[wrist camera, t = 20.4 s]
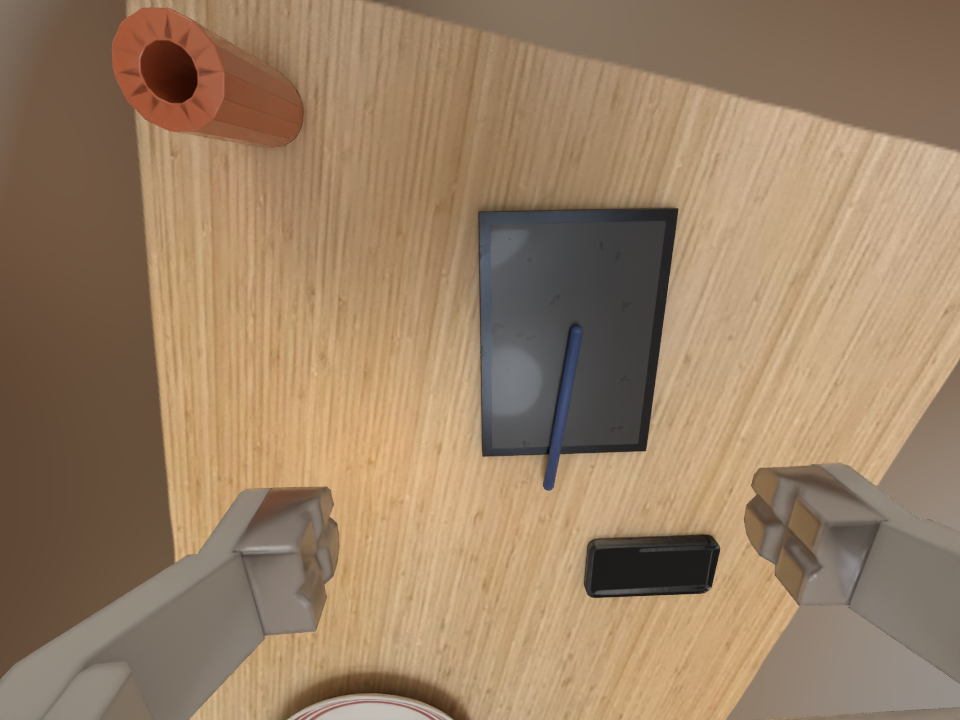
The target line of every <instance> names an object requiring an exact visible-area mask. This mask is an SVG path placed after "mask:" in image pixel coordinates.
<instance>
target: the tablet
mask: <svg viewBox="0 0 960 720" xmlns="http://www.w3.org/2000/svg"><path fill="white" fill-rule="evenodd" d="M677 215H678V208H637V209H582V210H528V211H479V212H478V218H479V280H480V343H481V405H482V455H483V457H484V456H514V455H544V454H549V449H550V444H551V438H552V433H553V427H554V422H555V416H556V411H557V405H558V399H559V394H560V388H561V383H562V377H563V372H564V366H565V360H566V355H567V349H568V344H569V338H570V333H571V329H572V327H573V326H576V325H578V326H581V327H582V329H583V335H582V340H581V346H580V351H579V356H578V361H577V367H576V372H575V377H574V382H573V388H572V393H571V398H570V403H569V409H568V414H567V419H566V425H565V430H564V435H563V440H562V446H561V451H560V454H574V453H604V452H634V451H646V447H647V439H648V432H649V424H650V417H651V410H652V402H653V395H654V387H655V380H656V372H657V365H658V357H659V350H660V342H661V335H662V327H663V320H664V312H665V305H666V298H667V290H668V283H669V275H670V268H671V260H672V253H673V245H674V238H675V230H676V223H677Z"/></svg>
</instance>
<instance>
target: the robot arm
mask: <svg viewBox="0 0 960 720" xmlns="http://www.w3.org/2000/svg"><path fill="white" fill-rule="evenodd" d="M751 486H752V488H753V490H754V491H755V493H756V496H755V497H754V498H753V499H752V500H751V501H750V502H749V503H748V504H747V505H746V510H745V515H744V523H745V529H746V534H747V536H748V538H749V540H750V543H751V545H752V546H753V547H754V549H755V550H756V551H757V553H758V554H759V555H760V556H762V557H763V558H765V559H767V560H768V561H770V562H772V563H773V564H775V576H776V577H777V578H778V580H779V581H780V582H781V584H782V585H783V586H784V587H785V589H786V590H787V591H788V592H789V594H790V595H791V596H792V597H793V599H794V600H795V601H796V603H797V604H798V605H799V606H828V605H829V606H830V605H849V608H850V609H851V610H853V611H854V612H856V613H858V614H859V615H860V616H861V617H863V618H864V619H866V620H867V621H869V622H870V623H872V624H873V625H875V626H876V627H877V628H879V629H881V630H882V631H883V632H885V633H886V634H888V635H889V636H891V637H892V638H894V639H895V640H897V641H898V642H899V643H901V644H902V645H904V646H905V647H907V648H908V649H910V650H911V651H913V652H914V653H915V654H917V655H918V656H920V657H921V658H923V659H924V660H926V661H927V662H929V663H930V664H932V665H933V666H934V667H936V668H937V669H939V670H940V671H942V672H943V673H945V674H946V675H948V676H949V677H950V678H952V679H953V680H955V681H956V682H958V683H959V684H960V531H957V530H955V529H952V528H950V527H947V526H945V525H942V524H940V523H937V522H934V521H932V520H920V519H919V518H918V517H916V516H915V515H913V514H912V513H911V512H910V511H908V510H907V509H906V508H904V507H903V506H902V505H900V504H899V503H898V502H896V501H895V500H894V499H892V498H891V497H889V496H888V495H887V494H886V493H884V492H883V491H882V490H880V489H879V488H877V487H876V486H875V485H874V484H872V483H871V482H870V481H868V480H867V479H866V478H864V477H863V476H862V475H860V474H859V473H858V472H856V471H855V470H854V469H852V468H851V467H850V466H847V465H844V464H841V463H826V464H812V465H811V466H790V467H770V468H759V469H758V470H757V472H756V473H755V474H754V477H753V481H752V484H751ZM333 506H334V503H333V499H332V494H331V490H330V489H329V488H328V487H286V488H257V489H246V490H244V491H242V492H241V493H240V494H239V495H238V497H237V498H236V499H235V501H234V502H233V504H232V505H231V507H230V508H229V509H228V511H227V512H226V514H225V515H224V517H223V518H222V520H221V521H220V522H219V524H218V525H217V527H216V528H215V530H214V531H213V532H212V534H211V535H210V537H209V538H208V540H207V541H206V543H205V544H204V545H203V547H202V548H201V550H200V551H199V553H198V554H192V555H187V556H185V557H184V558H182V559H181V560H179V561H178V562H176V563H174V564H173V565H171V566H170V567H168V568H167V569H165V570H163V571H162V572H160V573H158V574H157V575H155V576H154V577H152V578H151V579H149V580H147V581H146V582H144V583H143V584H141V585H140V586H138V587H136V588H135V589H133V590H132V591H130V592H128V593H127V594H125V595H124V596H122V597H120V598H119V599H117V600H116V601H114V602H113V603H111V604H109V605H108V606H106V607H105V608H103V609H101V610H100V611H98V612H97V613H95V614H93V615H92V616H90V617H89V618H87V619H85V620H84V621H82V622H81V623H79V624H78V625H76V626H75V627H73V628H71V629H70V630H68V631H67V632H65V633H63V634H62V635H60V636H59V637H57V638H56V639H54V640H52V641H51V642H49V643H47V644H46V645H44V646H43V647H41V648H39V649H38V650H36V651H35V652H33V653H32V654H30V655H28V656H27V657H25V658H24V659H22V660H21V661H19V662H17V663H16V664H14V665H13V666H12V668H11V669H10V670H9V671H8V672H7V673H6V674H5V675H4V676H3V677H2V678H1V679H0V720H189V719H190V718H191V717H192V716H193V714H194V713H195V712H196V711H197V710H198V709H199V708H200V707H201V706H202V705H203V704H204V703H205V702H206V701H207V700H208V698H209V697H210V696H211V695H212V694H213V693H214V692H215V691H216V690H217V689H218V688H219V687H220V686H221V685H222V684H223V683H224V681H225V680H226V679H227V678H228V677H229V676H230V675H231V674H232V673H233V672H234V671H235V670H236V669H237V668H238V667H239V666H240V664H241V663H242V662H243V661H244V660H245V659H246V658H247V657H248V656H249V655H250V654H251V653H252V652H253V651H254V650H255V648H256V647H257V646H258V645H259V644H260V643H261V642H262V641H263V640H264V639H265V637H264V636H266V635H278V634H290V633H302V632H314V631H316V629H317V626H318V623H319V620H320V617H321V614H322V611H323V608H324V605H325V602H326V598H327V595H326V590H325V585H324V584H325V583H327V582H328V581H329V580H330V579H331V578H332V577H333V576H334V573H335V569H336V566H337V562H338V554H339V531H338V525H337V523H336V522H335V521H334V520H333V519H332V518H331V517H329V516H330V514H331V511H332V508H333ZM756 720H758V719H756ZM759 720H960V707H958V708H957V707H956V708H939V709H922V710H907V711H906V710H905V711H889V712H872V713H856V714H841V715H840V714H839V715H824V716H806V717H789V718H774V719H759Z"/></svg>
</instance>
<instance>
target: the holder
mask: <svg viewBox="0 0 960 720" xmlns="http://www.w3.org/2000/svg"><path fill="white" fill-rule="evenodd" d="M112 59H113V72H114V75H115V77H116V79H117V81H118V83H119V86H120V88H121V90H122V92H123V94H124V96H125V98H126V99H127V101H128V102H129V103H130V104H131V105H132V106H133V107H134V108H135V109H136V110H137V111H138V112H139V113H140V114H141V115H142V116H143V117H144V118H145V119H146V120H147V121H149V122H151V123H153V124H155V125H157V126H159V127H162V128H164V129H166V130H168V131H172V132H177V133H183V134H189V135H195V136H201V137H206V138H212V139H218V140H224V141H230V142H236V143H242V144H247V145H253V146H259V147H271V148H274V147H281V146H284V145H286V144H288V143H289V142H291V141H292V140H293V139H294V138H295V137H296V135H297V134H298V132H299V130H300V128H301V125H302V120H303V107H302V102H301V99H300V96H299V94H298V92H297V90H296V89H295V87H294V86H293V84H292V83H291V82H290V81H289V80H288V79H287V78H286V77H285V76H284V75H283V74H282V73H280V72H279V71H277V70H275V69H274V68H272V67H270V66H269V65H267V64H265V63H264V62H262V61H260V60H259V59H257V58H255V57H254V56H252V55H250V54H249V53H247V52H245V51H244V50H242V49H240V48H239V47H237V46H235V45H233V44H232V43H230V42H228V41H227V40H225V39H223V38H222V37H220V36H218V35H217V34H215V33H213V32H212V31H210V30H208V29H207V28H205V27H203V26H202V25H200V24H198V23H197V22H195V21H193V20H191V19H189V18H188V17H186V16H184V15H182V14H180V13H178V12H176V11H174V10H172V9H170V8H142V9H140V10H138V11H137V12H135V13H134V14H132V15H131V16H129V17H128V18H126V19H125V20H123V22H121V24H120V26H119V29H118V31H117V33H116V36H115V38H114V41H113V43H112Z"/></svg>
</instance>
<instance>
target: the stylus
mask: <svg viewBox="0 0 960 720" xmlns="http://www.w3.org/2000/svg"><path fill="white" fill-rule="evenodd" d="M582 335H583V329H582V327H581V326H578V325H576V326H573V327H572V329H571V333H570V338H569V344H568V349H567V355H566V360H565V366H564V372H563V377H562V383H561V388H560V394H559V399H558V405H557V411H556V416H555V422H554V427H553V433H552V438H551V444H550V449H549V455H548V461H547V466H546V472H545V477H544V483H543V487H544V489H545V490H548V491H550V490H552V489H553V487H554V482H555V477H556V472H557V467H558V461H559V456H560V451H561V446H562V440H563V435H564V430H565V425H566V419H567V414H568V409H569V403H570V398H571V393H572V388H573V382H574V377H575V372H576V367H577V361H578V356H579V351H580V346H581V340H582Z"/></svg>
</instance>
